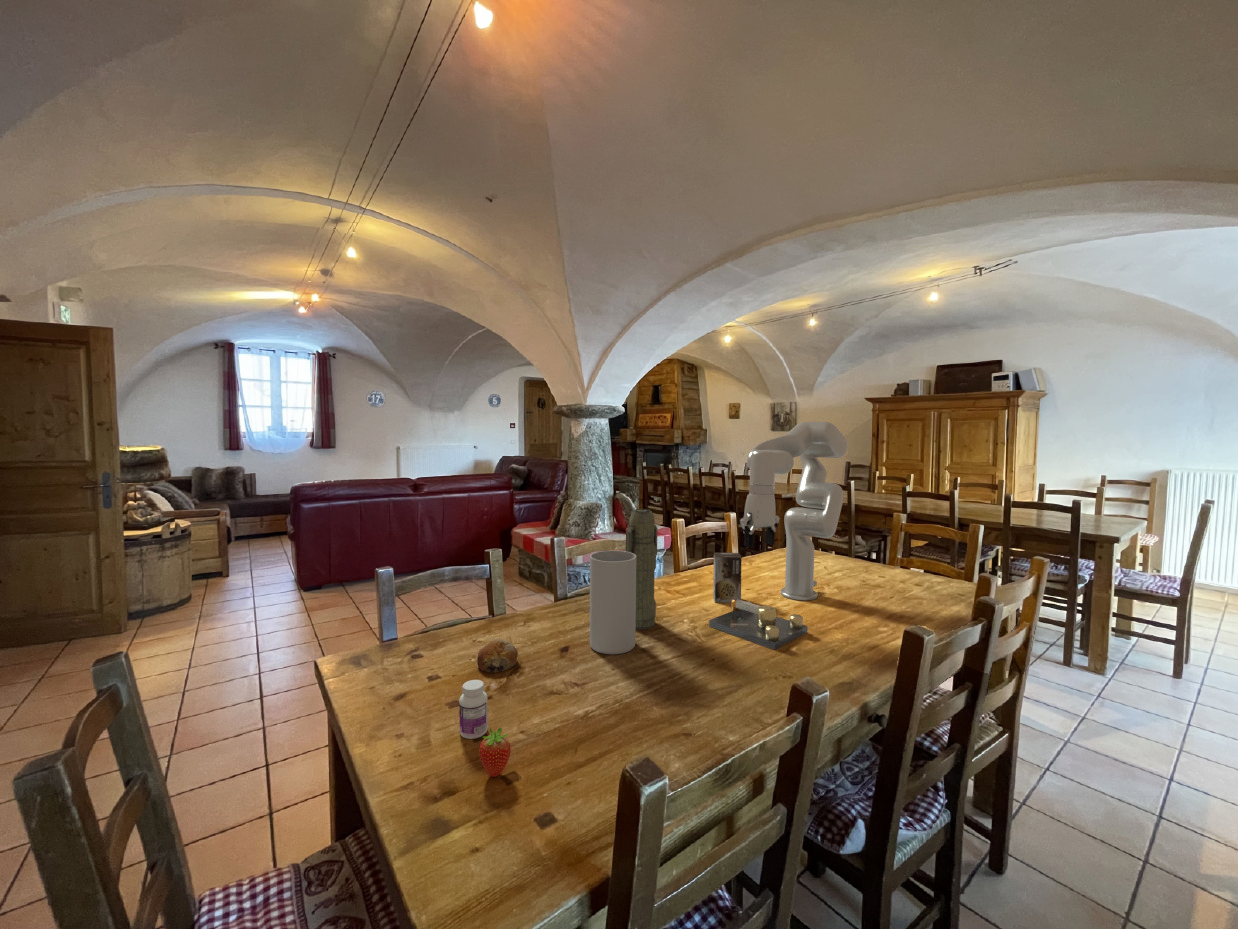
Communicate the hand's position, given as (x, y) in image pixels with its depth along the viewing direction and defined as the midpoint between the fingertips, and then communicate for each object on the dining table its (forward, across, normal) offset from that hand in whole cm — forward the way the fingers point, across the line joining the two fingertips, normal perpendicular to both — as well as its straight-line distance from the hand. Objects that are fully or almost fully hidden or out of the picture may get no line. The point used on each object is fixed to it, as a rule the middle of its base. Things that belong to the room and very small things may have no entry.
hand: (759, 545), depth 160 cm
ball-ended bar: (+22, +6, +3) cm, 23 cm away
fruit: (+28, +94, +22) cm, 100 cm away
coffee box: (+23, -7, -18) cm, 31 cm away
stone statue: (+25, +31, -18) cm, 44 cm away
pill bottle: (+28, +93, +8) cm, 97 cm away
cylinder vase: (+26, +48, -10) cm, 55 cm away
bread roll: (+27, +78, -17) cm, 84 cm away
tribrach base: (+24, +5, +5) cm, 25 cm away
